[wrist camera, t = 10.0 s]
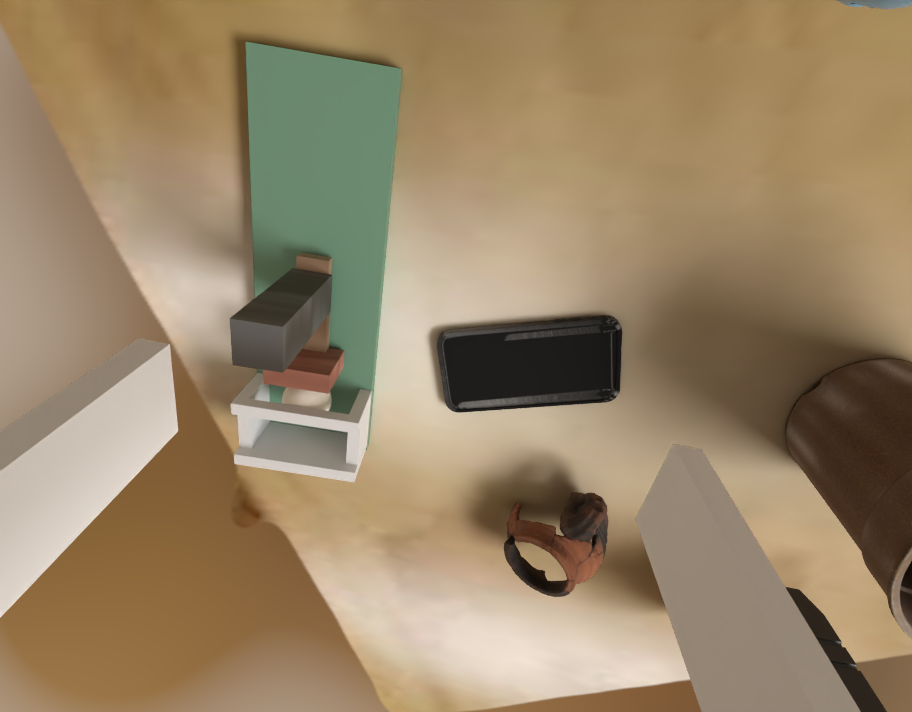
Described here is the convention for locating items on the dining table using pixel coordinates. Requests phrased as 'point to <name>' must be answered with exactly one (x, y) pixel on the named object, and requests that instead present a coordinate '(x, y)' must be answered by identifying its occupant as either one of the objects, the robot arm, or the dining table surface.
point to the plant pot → (864, 465)
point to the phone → (531, 364)
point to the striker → (291, 329)
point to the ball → (307, 399)
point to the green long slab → (319, 239)
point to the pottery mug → (561, 543)
